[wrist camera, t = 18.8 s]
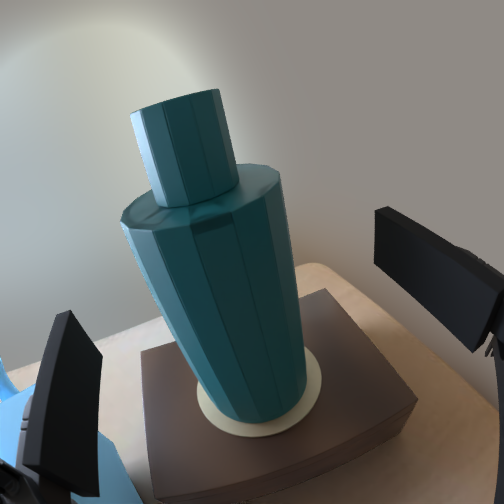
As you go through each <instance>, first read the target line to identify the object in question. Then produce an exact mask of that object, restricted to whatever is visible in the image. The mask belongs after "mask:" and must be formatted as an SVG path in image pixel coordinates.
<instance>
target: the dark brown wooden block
mask: <svg viewBox="0 0 504 504" xmlns="http://www.w3.org/2000/svg"><path fill="white" fill-rule="evenodd" d="M299 306H300V314H301V323H302V331H303V340H304V349H305V358H306V371H307V384H306V388H305V391H304V394H303V395H302V397H301V399H300V400H299V402H298V403H297V404H296V405H295V406H294V407H293V408H292V409H291V410H290V411H288V412H287V413H286V414H284V415H282V416H281V417H278V418H276V419H274V420H271V421H267V422H262V423H244V422H239V421H236V420H233V419H231V418H229V417H227V416H225V415H224V414H222V413H221V412H220V411H219V410H218V409H217V407H216V406H215V405H214V403H213V402H212V401H211V400H210V398H209V397H208V395H207V394H206V392H205V390H204V389H203V387H202V385H201V384H200V382H199V381H198V379H197V377H196V376H195V374H194V372H193V370H192V369H191V367H190V365H189V364H188V362H187V360H186V358H185V357H184V355H183V353H182V351H181V349H180V348H179V346H178V344H177V342H176V341H174V342H171V343H168V344H164V345H161V346H158V347H154V348H151V349H148V350H144V351H141V380H142V398H143V412H144V424H145V434H146V443H147V451H148V459H149V466H150V473H151V479H152V485H153V491H154V497H155V499H156V500H158V501H161V502H163V503H166V504H235V503H239V502H242V501H246V500H250V499H253V498H257V497H260V496H263V495H267V494H270V493H273V492H276V491H279V490H282V489H285V488H288V487H290V486H293V485H296V484H298V483H301V482H303V481H306V480H309V479H311V478H313V477H316V476H318V475H320V474H323V473H325V472H327V471H330V470H332V469H334V468H336V467H338V466H340V465H342V464H344V463H346V462H348V461H350V460H352V459H354V458H356V457H358V456H360V455H362V454H364V453H366V452H368V451H369V450H371V449H373V448H375V447H377V446H378V445H380V444H382V443H383V442H385V441H387V440H388V439H390V438H392V437H393V436H395V435H397V434H398V433H400V432H401V430H402V428H403V427H404V425H405V423H406V421H407V420H408V418H409V416H410V414H411V412H412V411H413V408H414V407H415V405H416V403H417V401H418V398H417V397H416V395H415V394H414V393H413V392H412V390H411V389H410V388H409V387H408V385H407V384H406V383H405V382H404V381H403V379H402V378H401V377H400V376H399V374H398V373H397V372H396V371H395V370H394V368H393V367H392V366H391V365H390V363H389V362H388V361H387V360H386V359H385V357H384V356H383V355H382V354H381V353H380V351H379V350H378V349H377V348H376V347H375V345H374V344H373V343H372V342H371V341H370V339H369V338H368V337H367V336H366V335H365V334H364V332H363V331H362V330H361V329H360V328H359V326H358V325H357V324H356V323H355V322H354V321H353V319H352V318H351V317H350V316H349V315H348V314H347V312H346V311H345V310H344V309H343V308H342V307H341V306H340V304H339V303H338V302H337V301H336V300H335V299H334V297H333V296H332V295H331V294H330V293H329V292H328V291H327V289H326V288H324V289H322V290H319V291H317V292H314V293H312V294H309V295H306V296H304V297H301V298H299Z"/></svg>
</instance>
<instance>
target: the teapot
mask: <svg viewBox="0 0 504 504" xmlns="http://www.w3.org/2000/svg"><path fill="white" fill-rule="evenodd" d="M34 389H35V384H34V385H32V386H30V387H28V388H27V389H25V390H23V391H21V392H19V391H18V390H17V388H16V387H15V386H14V385H13V383H12V382H11V381H10V379H9V378H8V376H7V374H6V372H5V370H4V366H3V363H2V360H1V357H0V399H1V401H2V402H1V403H0V458H1V459H2V460H4V461H5V462H7V463H8V464H10V465H11V466H13V467H15V464H16V454H17V447H18V440H19V433H20V431H21V429H20V427H21V422H22V421H23V420H22V416H23V411H24V407H25V405H26V403H27V401H28V399H29V397H30V395H33V393H34ZM98 473H99V490H100V497H81V496H79V495H77V494H74V493H72V492H71V498H72V499H74V500H75V501H76V502H77V503H78V504H143V502H142V500H141V498H140V497H139V495H138V493H137V491H136V489H135V487H134V485H133V483H132V482H131V480H130V478H129V476H128V474H127V472H126V469H125V467H124V465H123V463H122V461H121V459H120V457H119V454H118V452H117V450H116V448H115V445H114V443H113V442H112V441H110V440H109V439H108V438H106V437H105V436H104V435H103V434H101V433H100V432H99V431H98Z"/></svg>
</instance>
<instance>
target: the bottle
mask: <svg viewBox="0 0 504 504" xmlns="http://www.w3.org/2000/svg"><path fill="white" fill-rule="evenodd" d="M130 117H131V121H132V125H133V128H134V132H135V135H136V139H137V142H138V146H139V149H140V152H141V156H142V159H143V162H144V165H145V169H146V172H147V175H148V178H149V182H150V184H151V188H152V189H151V190H150V191H148V192H146V193H145V194H143V195H141V196H140V197H138V198H137V199H135V200H134V201H133V202H132V203H131V204H130V205H129V206H128V207H127V208H126V209H125V210H124V211H123V214H122V217H121V220H120V223H121V226H122V228H123V231H124V233H125V236H126V238H127V240H128V243H129V245H130V247H131V250H132V252H133V254H134V257H135V259H136V261H137V263H138V266H139V268H140V270H141V272H142V274H143V277H144V279H145V281H146V283H147V285H148V287H149V289H150V291H151V294H152V295H153V298H154V299H155V302H156V304H157V306H158V308H159V310H160V312H161V314H162V316H163V318H164V320H165V321H166V323H167V325H168V327H169V329H170V331H171V333H172V335H173V337H174V338H175V340H176V342H177V344H178V346H179V348H180V349H181V351H182V353H183V355H184V357H185V358H186V360H187V362H188V364H189V365H190V367H191V369H192V370H193V372H194V374H195V376H196V377H197V379H198V381H199V382H200V384H201V385H202V387H203V389H204V390H205V392H206V394H207V395H208V397H209V398H210V400H211V401H212V402H213V403H214V405H215V406H216V407H217V409H218V410H219V411H220V412H221V413H222V414H224V415H225V416H227V417H229V418H231V419H233V420H236V421H239V422H244V423H262V422H267V421H271V420H274V419H276V418H278V417H281V416H282V415H284V414H286V413H287V412H288V411H290V410H291V409H292V408H293V407H294V406H295V405H296V404H297V403H298V402H299V400H300V399H301V397H302V395H303V394H304V391H305V388H306V384H307V371H306V358H305V349H304V340H303V331H302V323H301V314H300V306H299V299H298V291H297V283H296V276H295V269H294V262H293V255H292V248H291V241H290V235H289V228H288V222H287V215H286V209H285V203H284V197H283V191H282V185H281V179H280V173H279V172H278V171H276V170H275V169H273V168H271V167H269V166H267V165H257V164H236V161H235V157H234V152H233V148H232V143H231V139H230V135H229V130H228V126H227V121H226V117H225V112H224V109H223V104H222V100H221V95H220V91H219V89H211V90H206V91H201V92H197V93H192V94H189V95H184V96H181V97H177V98H173V99H170V100H166V101H163V102H160V103H157V104H154V105H151V106H148V107H145V108H142V109H140V110H138V111H135V112H133V113H131V114H130Z"/></svg>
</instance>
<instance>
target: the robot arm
mask: <svg viewBox="0 0 504 504" xmlns="http://www.w3.org/2000/svg"><path fill="white" fill-rule="evenodd" d="M374 243H375V244H374V264H375V265H376V266H378V267H379V268H380V269H381V270H382V271H383V272H385V273H386V274H387V275H388V276H389V277H391V278H392V279H393V280H394V281H396V283H398V284H399V285H400V286H401V287H402V288H403V289H404V290H406V291H407V292H408V293H409V294H410V295H411V296H412V297H413V298H415V299H416V300H417V301H418V302H419V303H420V304H421V305H422V306H424V308H426V309H427V310H428V311H429V312H430V313H431V314H432V315H433V316H434V317H435V318H437V319H438V320H439V321H440V322H441V323H442V324H443V325H444V326H445V327H446V328H447V329H448V330H449V331H450V332H451V333H452V334H453V335H454V336H455V337H456V338H457V339H458V340H459V341H461V342H462V343H463V344H464V345H465V346H466V347H467V348H468V349H469V350H470V351H471V352H472V353H473V352H474V351H476V350H477V349H478V348H479V347H480V346H481V345H483V344H484V342H485V340H486V338H487V336H488V334H489V332H491V333H492V334H494V336H493V338H492V340H491V342H490V344H489V346H488V348H487V350H486V351H485V357H487V356H488V354H489V352H490V351H491V349H492V347H493V351H492V353H491V357H492V356H494V360H495V367H496V376H497V385H498V398H499V419H500V444H499V464H498V476H497V485H496V492H495V499H494V504H504V275H503V274H502V273H500V272H499V271H497V270H496V269H495V268H493V267H492V266H490V265H489V264H486V263H485V261H483V260H482V259H480V258H479V259H478V257H477V256H476V255H474V254H473V253H471V252H470V251H468V250H465V249H463V248H460V247H457V246H454V245H453V244H451V243H449V242H448V241H446V240H445V239H443V238H442V237H440V236H438V235H437V234H435V233H434V232H432V231H430V230H429V229H427V228H425V227H424V226H422V225H420V224H419V223H417V222H415V221H413V220H412V219H410V218H408V217H406V216H405V215H403V214H401V213H399V212H397V211H396V210H394V209H392V208H390V207H388V206H387V207H383V208H380V209H377V210H375V242H374ZM102 359H103V356H102V354H101V353H100V352H99V350H98V349H97V348H96V346H95V345H94V343H93V342H92V341H91V339H90V338H89V337H88V335H87V334H86V332H85V331H84V329H83V328H82V326H81V325H80V323H79V322H78V320H77V319H76V318H75V316H74V314H73V313H72V311H71V310H69V311H66V312H63V313H60V314H57V315H56V317H55V320H54V323H53V326H52V330H51V332H50V335H49V339H48V341H47V345H46V348H45V351H44V355H43V358H42V361H41V365H40V369H39V373H38V376H37V380H36V384H35V389H34V393H33V395H30V397H29V399H28V401H27V403H26V405H25V407H24V411H23V416H22V420H23V421H22V422H21V427H20V429H21V431H20V433H19V440H18V447H17V454H16V464H15V467H13V466H11V465H10V464H8V463H7V462H5V461H4V460H2V459H1V458H0V504H78V503H77V502H76V501H75V500H74V499H72V498H71V492H72V493H74V494H77V495H79V496H81V497H100V490H99V473H98V412H99V393H100V380H101V369H102Z"/></svg>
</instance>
